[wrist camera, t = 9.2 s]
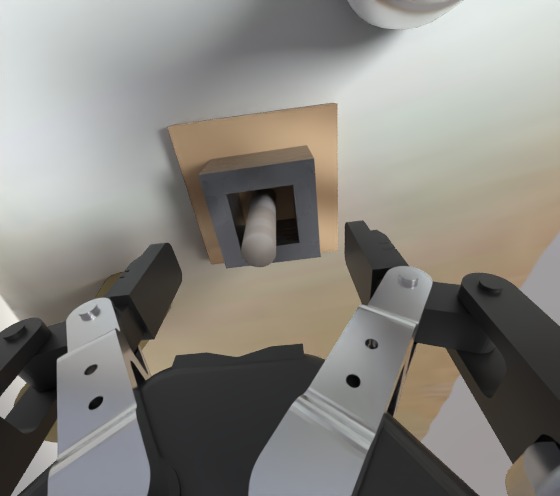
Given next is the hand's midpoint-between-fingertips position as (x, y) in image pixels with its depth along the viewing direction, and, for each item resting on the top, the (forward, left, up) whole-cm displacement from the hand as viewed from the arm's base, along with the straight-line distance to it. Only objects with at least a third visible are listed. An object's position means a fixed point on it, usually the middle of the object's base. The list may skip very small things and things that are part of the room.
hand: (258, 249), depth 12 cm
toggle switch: (0, 0, -8) cm, 8 cm away
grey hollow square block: (0, 0, -7) cm, 7 cm away
